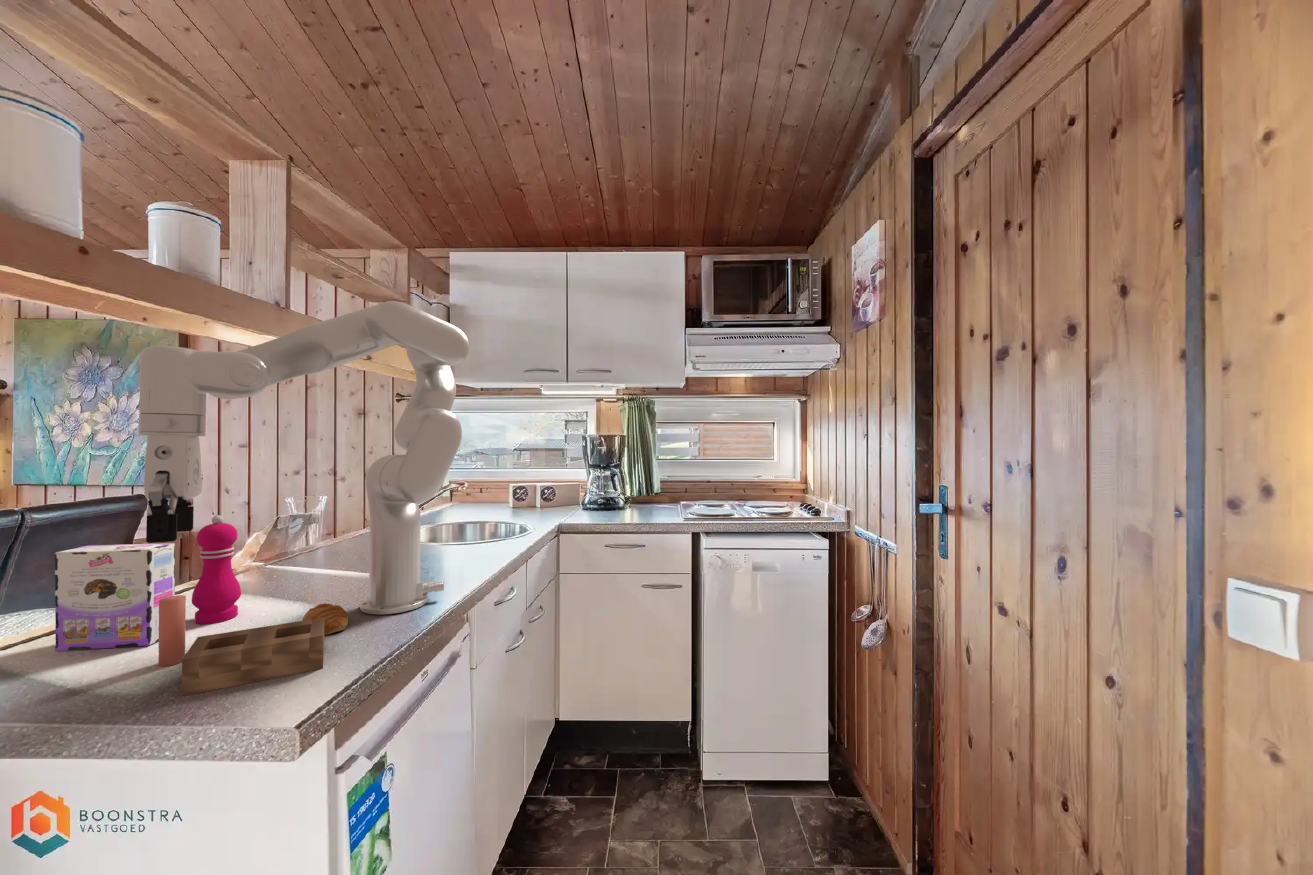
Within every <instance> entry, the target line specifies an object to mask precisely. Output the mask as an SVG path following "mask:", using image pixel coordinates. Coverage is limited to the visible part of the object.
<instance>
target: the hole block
mask: <svg viewBox="0 0 1313 875" xmlns="http://www.w3.org/2000/svg"><path fill="white" fill-rule="evenodd" d="M325 636H326V635H325V617H324V618H318V619H311V620H305V621H302V620H299V621H293V622H286V623H280V624H279V623H278V624H272V625H266V626H259V627H254V628H247V629H241V630H234V631H226V632H222V633H221V632H220V633H215V634H209V635H202V636H197V637H196V639H195V640H194V642H193V643H192V645H191V646H190V648H189V649H188V650H187V651H186V652H185V656H184V657H183V659H182V662H181V697H184V696H189V695H194V694H195V695H196V694H199V693H204V692H211V691H215V690H219V689H225V688H229V687H236V686H240V685H245V684H249V683H254V682H259V681H264V680H270V679H275V678H280V677H285V676H286V677H287V676H289V675H295V674H300V673H305V672H310V671H311V672H312V671H315V670H319V669H320V670H321V669H323V668H324V655H325V638H326V637H325Z"/></svg>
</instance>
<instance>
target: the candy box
mask: <svg viewBox="0 0 1313 875" xmlns="http://www.w3.org/2000/svg"><path fill="white" fill-rule="evenodd" d="M175 553H176V544H175V542H173V543H172V542H161V543H139V544H138V543H136V544H135V543H134V544H130V543H129V544H128V543H127V544H101V545H99V544H98V545H97V544H96V545H95V544H93V545H85V546H79V547H75V548H69V549H65V550H61V551H56V552H55V553H54V595H55V596H54V598H55V600H54V603H55V606H54V611H55V612H54V613H55V614H54V615H55V628H54V629H55V647H54V651H55V652H67V651H75V650H76V651H79V650H97V649H98V650H99V649H112V648H113V649H114V648H129V647H144V646H147V647H148V646H151V645H152V644H155V643H158V642H159V600H160V599H162V598H166V597H170V596H176V594H175V593H176V592H175V589H176V588H175V586H176V585H175V580H176V579H175V577H176V576H175V574H176V572H175V570H176V569H175V567H176V566H175V562H176V561H175V559H176V558H175V557H176V555H175Z"/></svg>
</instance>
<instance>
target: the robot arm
mask: <svg viewBox="0 0 1313 875" xmlns="http://www.w3.org/2000/svg"><path fill="white" fill-rule="evenodd" d="M469 342H470V341H469V339H468V337H467V335H466V334H465V333H464V332H463V330H461V329H460V328H459V327H457V326H455V325H454V324H452V323H449V322H448V321H446V320H443V319H441V318H438V317H436V316H435V315H432V314H430V313H428V312H426V311H424V310H421V309H420V308H416V307H414V306H412V305H410V304H408V303H405V302H401V301H397V300H387V301H384V302H381V303H377V304H375V305H371V306H368V307H365V308H361V309H360V310H356V311H352V312H348V313H345V314H341V315H339V316H336V317H332V318H329V319H325V320H322V321H319V322H316V323H312V324H308V325H306V326H303V327H301V328H298V329H295V330H293V331H290V332H289V333H287V334H284V335H281V336H280V337H276V338H274V339H271V340H268V341H266V342H263V343H259V344H256V345H253V346H250V347H247V348H244V349H240V350H238V351H209V350H208V351H206V350H205V351H204V350H203V351H202V350H197V349H193V348H188V347H182V346H181V347H180V346H170V345H151V346H150V345H149V346H147V347H144V348H143V349H142V351H141V352H140V357H139V358H140V359H139V397H138V398H139V404H138V406H139V408H138V413H139V414H138V436H147V438H146V447H145V458H144V481H143V482H144V483H143V485H144V486H143V489H144V497H145V499H147V509H146V528H145V529H146V530H145V532H146V534H145V537H146V539H145V540H146V542H147V543H146V544H159V543H172V542H175V541H177V539H178V532H179V533H181V532H191V531H193V530H194V508H195V506H194V498H195V497H198V496H199V495H201V494H202V490H203V489H202V488H203V484H202V481H203V480H202V457H201V456H202V455H201V454H202V453H201V445H200V444H201V443H200V439H199V438H200V437H206V429H207V428H206V425H207V424H206V420H207V419H206V418H207V394H209V395H211V396H213V397H215V398H217V399H222V400H236V399H245V398H250V397H255V396H257V395H259V394H260V393H262V392H264V390H266V389H267V387H270V386H273V385H276V384H279V383H282V382H285V381H288V380H291V379H295V378H297V377H298V378H299V377H302V376H306V375H311V374H315V373H316V374H317V373H321V372H324V371H327V370H331V369H334V368H338V367H340V366H342V365H345V364H348V363H350V362H352V361H356V360H359V359H362V358H364V357H366V356H369V355H371V354H374V353H377V352H380V351H382V350H385V349H388V348H390V347H394V346H399V345H400V346H402V347H405V350H406V355H407V358H408V360H409V362H410V364H411V366H412V367H413V371H414V373H415V377H416V378H415V387H414V389H413V392H412V394H411V396H410V398H409V400H408V402H407V404H406V406H405V408H404V410H403V412H402V414H401V416H400V417H399V420H398V422H397V423H396V426H395V428H394V429H395V430H394V440H395V441H396V444H397V445H398V446H399V447H400V448H401V449H403V450H405V451H406V452H405V454H387V455H385V456H382V457H380V458H378V459H377V460H375V461H374V462H372V464H371V465H370V466H369V469H368V470H367V473H366V476H365V477H366V478H365V488H366V494H367V500H368V508H369V557H368V559H369V565H368V567H369V570H368V573H369V575H368V579H369V580H368V588H369V589H368V598H366V599H364V600H362V602H360V605H359V608H360V609H359V610H360V612H362V613H365V614H368V615H392V614H393V615H394V614H399V613H405V612H410V611H413V610H416V609H418V608H421V607H422V606H424V605H426V604H427V603H428V601H429V600H428V599H429V596H428V594H429V593H433V592H434V593H438V592H444V589H445V585H444V581H438V582H436V580H433V581H428V582H425V581H423V580H422V578H421V527H422V525H421V524H422V523H421V522H422V519H421V511H420V506H419V505H420V504H421V503H426V502H427V501H430V500H431V499H433V498H434V497H435V496H436V494H437V493H438V492H439V490H440V489H441V488H442V486H443V484H444V483H445V482H444V481H445V480H446V478H447V475H448V473H449V471H450V468H451V466H452V465H453V462H454V459H455V457H456V455H457V453H458V450H459V448H460V445H461V443H462V436H463V432H462V431H463V430H462V428H463V427H462V425H461V422H460V420H459V418H458V416H456V414H454V413H453V412H452V411H451V410H452V407H453V404H454V402H455V399H456V395H457V384H456V380H455V376H454V373H453V370H452V368H451V367H453V366H457V365H459V364H461V363H463V362H465V360H466V359H467V357H468V356H469V353H470V343H469Z"/></svg>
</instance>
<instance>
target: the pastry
mask: <svg viewBox="0 0 1313 875" xmlns="http://www.w3.org/2000/svg"><path fill="white" fill-rule="evenodd" d="M324 617H325V636H328V635H331V634H333V633H337V632H340V631H345V629H346V628H347V627H348V625H349V623H348V622H349V616H348V613H347V611H346V610H345V609H344V608H343V607H342V606H341V605H338V604H337V605H335V604H333V603H319V604H317V605H316V606H314V607H312V608H310V609H309V610H308V611H307V612H306V613H305V614H304V616H303V617H302V619H301V621H305V620H311V619H318V618H324Z"/></svg>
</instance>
